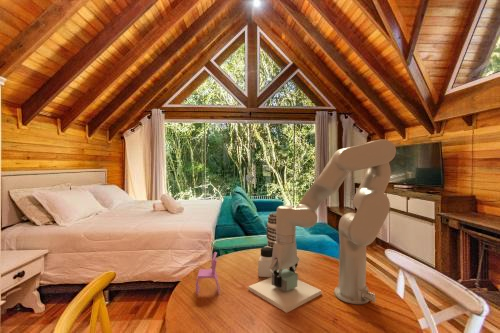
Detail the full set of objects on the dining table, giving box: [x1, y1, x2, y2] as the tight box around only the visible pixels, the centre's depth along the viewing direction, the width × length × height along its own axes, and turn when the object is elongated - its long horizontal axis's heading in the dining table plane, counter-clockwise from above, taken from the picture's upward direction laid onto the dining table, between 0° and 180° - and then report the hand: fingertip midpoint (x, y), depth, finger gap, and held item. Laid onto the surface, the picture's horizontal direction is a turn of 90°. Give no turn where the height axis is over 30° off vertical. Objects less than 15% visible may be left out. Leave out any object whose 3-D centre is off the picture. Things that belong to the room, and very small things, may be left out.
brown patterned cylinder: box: [265, 212, 276, 248], centre depth 131 cm, size 9×9×25 cm
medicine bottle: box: [257, 245, 273, 279], centre depth 118 cm, size 7×7×12 cm
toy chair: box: [195, 251, 220, 297], centre depth 102 cm, size 8×9×15 cm
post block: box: [247, 277, 322, 314], centre depth 102 cm, size 20×20×6 cm
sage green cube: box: [272, 268, 299, 292], centre depth 102 cm, size 7×7×5 cm
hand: (284, 282), depth 102 cm, fingers closed on sage green cube, 7 cm apart
